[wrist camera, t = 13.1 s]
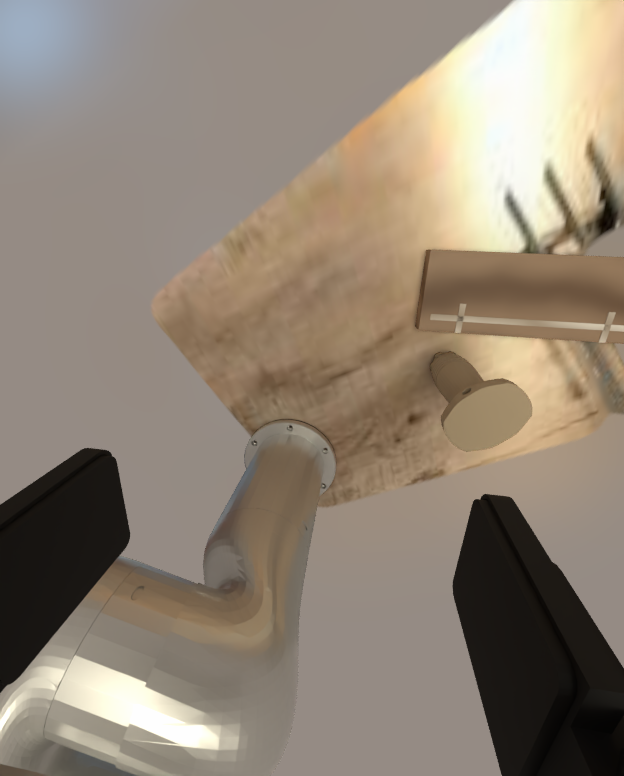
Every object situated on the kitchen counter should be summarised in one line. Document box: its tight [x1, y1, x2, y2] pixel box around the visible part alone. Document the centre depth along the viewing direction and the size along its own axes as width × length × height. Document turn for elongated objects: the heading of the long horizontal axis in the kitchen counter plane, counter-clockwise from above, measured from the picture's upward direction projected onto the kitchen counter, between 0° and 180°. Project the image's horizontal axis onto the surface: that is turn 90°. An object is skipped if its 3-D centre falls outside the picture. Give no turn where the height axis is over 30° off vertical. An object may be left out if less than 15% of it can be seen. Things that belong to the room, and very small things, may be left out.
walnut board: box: [415, 250, 624, 344], centre depth 35 cm, size 8×22×3 cm, turn 87°
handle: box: [430, 351, 532, 452], centre depth 33 cm, size 5×6×15 cm
